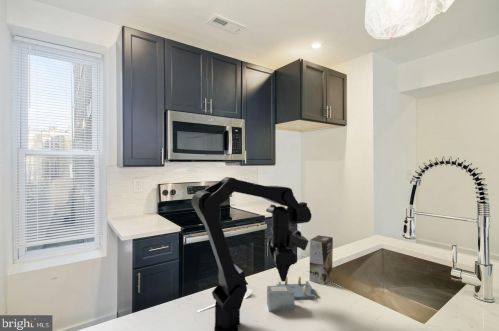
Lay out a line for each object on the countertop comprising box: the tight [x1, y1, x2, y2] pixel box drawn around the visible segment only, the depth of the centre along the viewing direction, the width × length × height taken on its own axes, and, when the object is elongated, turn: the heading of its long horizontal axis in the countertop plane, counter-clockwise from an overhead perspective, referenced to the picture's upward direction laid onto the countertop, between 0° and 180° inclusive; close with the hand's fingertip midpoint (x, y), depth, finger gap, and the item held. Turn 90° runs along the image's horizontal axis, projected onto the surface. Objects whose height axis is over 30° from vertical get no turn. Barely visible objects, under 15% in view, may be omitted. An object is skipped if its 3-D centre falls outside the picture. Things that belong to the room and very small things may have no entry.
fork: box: [196, 287, 253, 313], centre depth 84 cm, size 3×20×2 cm, turn 123°
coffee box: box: [308, 234, 334, 285], centre depth 101 cm, size 9×6×16 cm
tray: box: [275, 275, 317, 300], centre depth 91 cm, size 12×9×4 cm
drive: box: [266, 285, 296, 313], centre depth 81 cm, size 8×4×6 cm, turn 94°
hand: (280, 274), depth 81 cm, fingers open, 9 cm apart
